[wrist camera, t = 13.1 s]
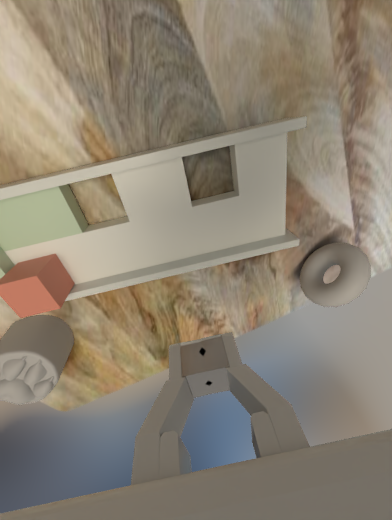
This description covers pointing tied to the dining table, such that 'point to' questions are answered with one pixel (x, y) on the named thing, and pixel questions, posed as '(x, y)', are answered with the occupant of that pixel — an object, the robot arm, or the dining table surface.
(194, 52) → the dining table surface
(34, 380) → the lumpy-topped squat cylinder
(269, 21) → the dining table surface
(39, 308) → the block
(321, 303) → the donut
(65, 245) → the tray
